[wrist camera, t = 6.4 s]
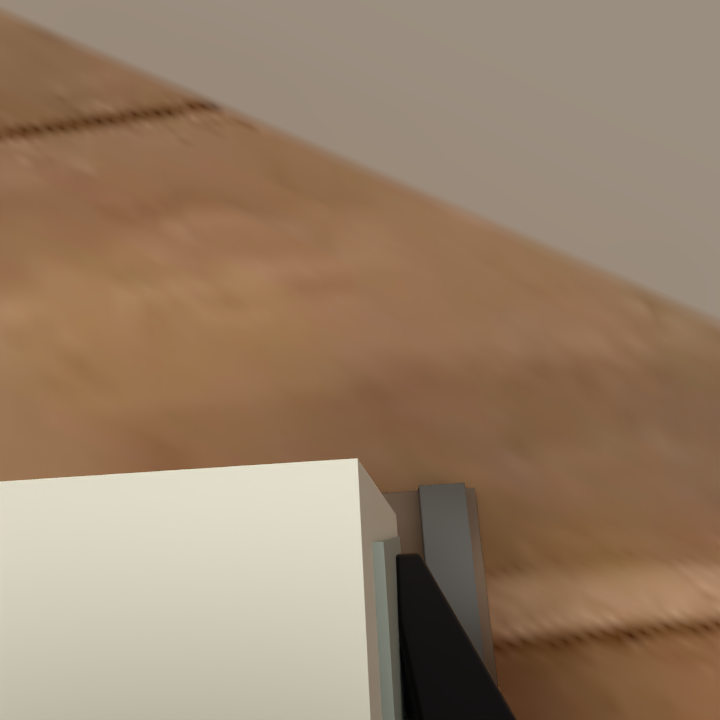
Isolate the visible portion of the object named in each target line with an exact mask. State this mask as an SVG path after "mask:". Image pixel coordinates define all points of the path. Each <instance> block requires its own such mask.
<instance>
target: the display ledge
mask: <svg viewBox="0 0 720 720" xmlns="http://www.w3.org/2000/svg"><path fill="white" fill-rule="evenodd" d="M382 495H383V496H384V498H385V499H386V501H387V502H388V504H389V505H390V507H391V508H392V510H393V511H394V512H395V514H396V520H397V534H398V537H400V545H401V554H402V553H418V554H420V555H421V556H422V558H423V560H424V561H425V563H426V565H427V566H428V568H429V570H430V572H431V573H432V575H433V577H434V578H435V580H436V582H437V584H438V585H439V587H440V589H441V591H442V592H443V594H444V596H445V597H446V599H447V601H448V603H449V604H450V606H451V608H452V609H453V611H454V613H455V615H456V616H457V618H458V620H459V622H460V623H461V625H462V627H463V628H464V630H465V632H466V634H467V635H468V637H469V639H470V640H471V642H472V644H473V646H474V647H475V649H476V651H477V653H478V654H479V656H480V658H481V659H482V661H483V663H484V665H485V666H486V668H487V670H488V671H489V673H490V675H491V677H492V678H493V680H494V682H495V683H496V685H497V687H498V683H497V674H496V666H495V657H494V649H493V640H492V632H491V623H490V615H489V606H488V598H487V589H486V581H485V572H484V564H483V555H482V547H481V539H480V530H479V522H478V513H477V505H476V496H475V488H465V485H464V483H455V484H439V485H422V486H419V489H418V491H411V492H395V493H382Z"/></svg>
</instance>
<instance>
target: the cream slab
mask: <svg viewBox="0 0 720 720" xmlns="http://www.w3.org/2000/svg"><path fill="white" fill-rule="evenodd" d="M397 554H401V545H400V537H398V534H397V520H396V514H395V512H394V511H393V510H392V508H391V507H390V505H389V504H388V502H387V501H386V499H385V498H384V496H383V495H382V493H381V492H380V491H379V489H378V488H377V486H376V485H375V483H374V482H373V480H372V479H371V477H370V476H369V474H368V473H367V472H366V470H365V469H364V467H363V466H362V464H361V463H360V461H359V460H358V458H357V459H341V460H326V461H310V462H295V463H280V464H264V465H249V466H233V467H218V468H203V469H187V470H172V471H157V472H141V473H126V474H110V475H95V476H80V477H64V478H49V479H33V480H18V481H3V482H0V720H408V719H407V710H406V700H405V690H404V680H403V671H402V661H401V651H400V641H399V629H398V603H397V574H396V555H397Z"/></svg>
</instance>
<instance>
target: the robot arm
mask: <svg viewBox="0 0 720 720" xmlns="http://www.w3.org/2000/svg"><path fill="white" fill-rule="evenodd" d="M396 574H397V603H398V629H399V641H400V651H401V661H402V671H403V680H404V690H405V700H406V710H407V719H408V720H516V718H515V716H514V714H513V713H512V711H511V709H510V708H509V706H508V704H507V702H506V701H505V699H504V697H503V696H502V694H501V692H500V690H499V689H498V687H497V685H496V683H495V682H494V680H493V678H492V677H491V675H490V673H489V671H488V670H487V668H486V666H485V665H484V663H483V661H482V659H481V658H480V656H479V654H478V653H477V651H476V649H475V647H474V646H473V644H472V642H471V640H470V639H469V637H468V635H467V634H466V632H465V630H464V628H463V627H462V625H461V623H460V622H459V620H458V618H457V616H456V615H455V613H454V611H453V609H452V608H451V606H450V604H449V603H448V601H447V599H446V597H445V596H444V594H443V592H442V591H441V589H440V587H439V585H438V584H437V582H436V580H435V578H434V577H433V575H432V573H431V572H430V570H429V568H428V566H427V565H426V563H425V561H424V560H423V558H422V556H421V555H420V554H418V553H402V554H397V555H396Z"/></svg>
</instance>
